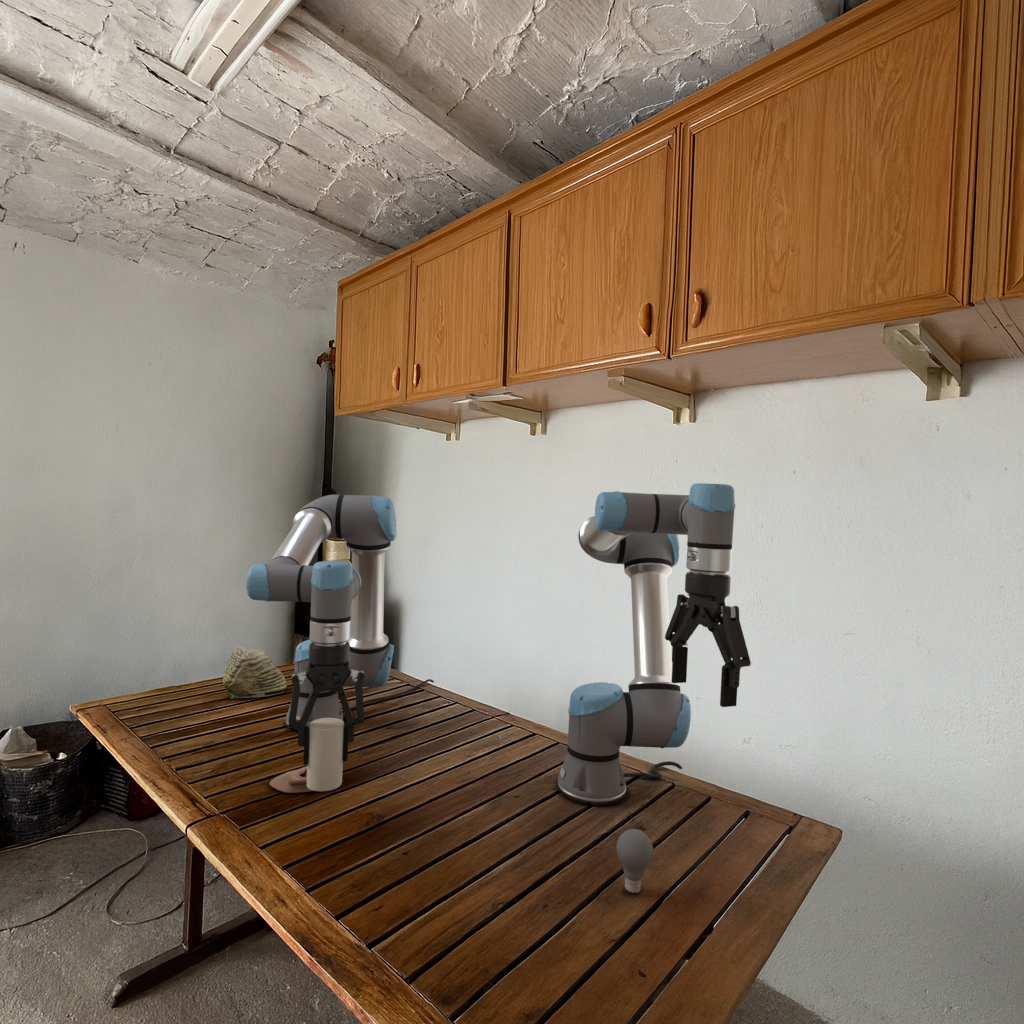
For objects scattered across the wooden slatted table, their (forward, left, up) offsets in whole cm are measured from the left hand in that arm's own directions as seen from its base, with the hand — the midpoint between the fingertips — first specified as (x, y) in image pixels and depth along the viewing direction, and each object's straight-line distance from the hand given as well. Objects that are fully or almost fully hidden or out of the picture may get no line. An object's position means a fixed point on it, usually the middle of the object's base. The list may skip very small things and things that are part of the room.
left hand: (325, 760), depth 122 cm
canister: (0, 0, -5) cm, 5 cm away
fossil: (-31, -81, -13) cm, 88 cm away
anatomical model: (-7, -18, -13) cm, 23 cm away
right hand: (-34, +61, +20) cm, 72 cm away
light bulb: (-22, +55, -13) cm, 61 cm away
